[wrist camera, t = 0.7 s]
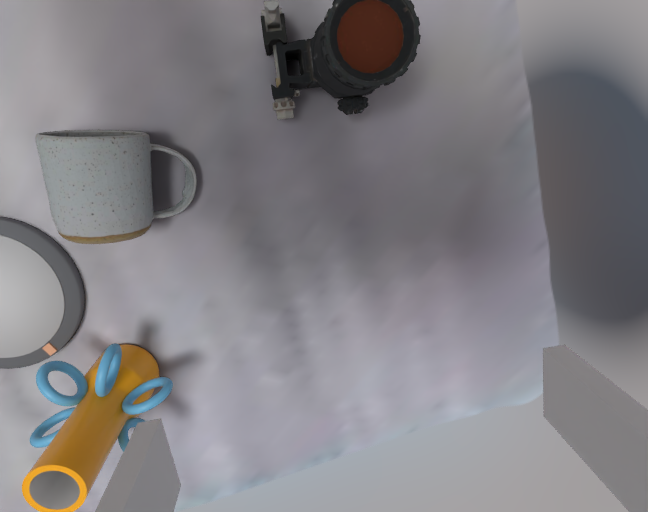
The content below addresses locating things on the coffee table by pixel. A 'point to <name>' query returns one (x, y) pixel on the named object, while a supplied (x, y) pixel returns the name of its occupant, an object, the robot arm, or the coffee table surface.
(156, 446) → the robot arm
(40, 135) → the ceramic mug
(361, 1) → the scope
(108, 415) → the cylinder
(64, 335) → the plate
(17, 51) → the coffee table surface
